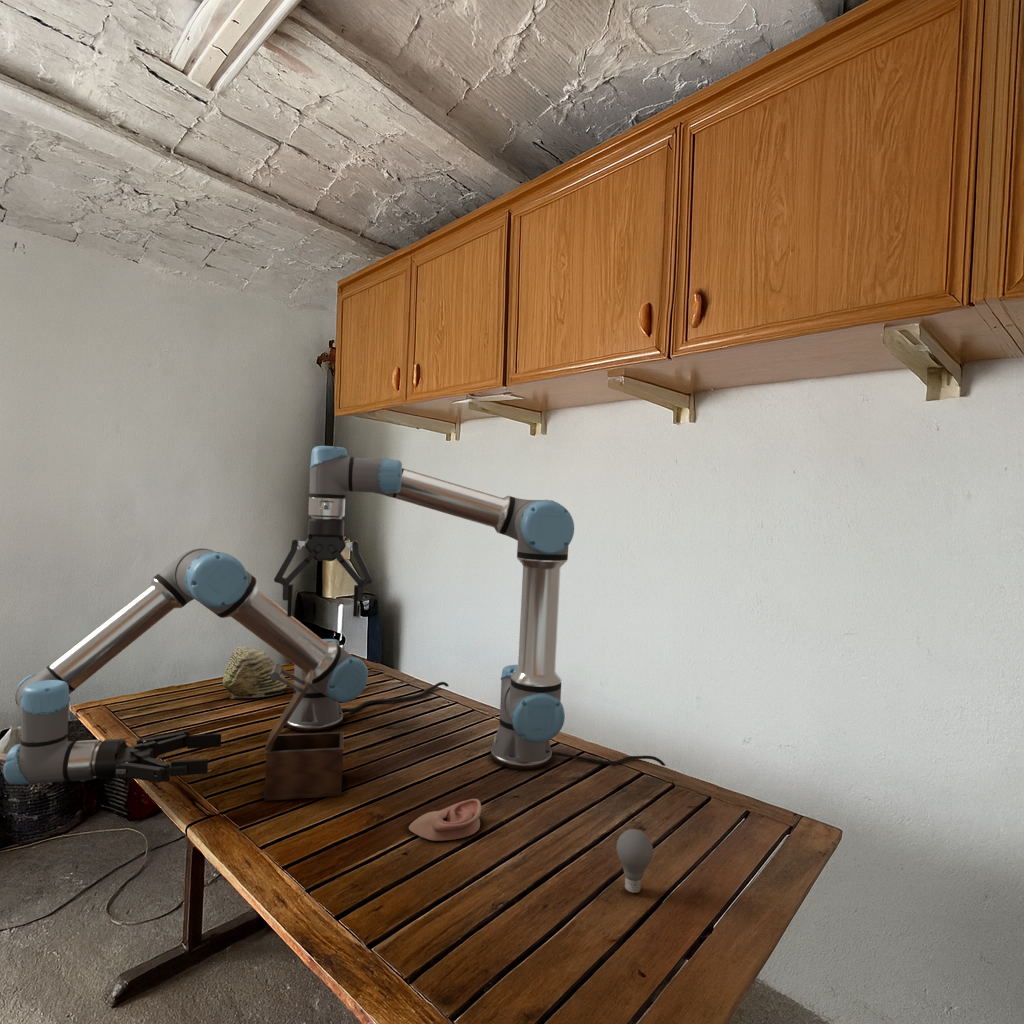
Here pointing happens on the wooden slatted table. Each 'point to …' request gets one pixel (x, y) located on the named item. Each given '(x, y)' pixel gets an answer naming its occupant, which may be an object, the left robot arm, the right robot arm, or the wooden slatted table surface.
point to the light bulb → (634, 857)
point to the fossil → (251, 674)
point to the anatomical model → (449, 822)
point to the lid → (293, 703)
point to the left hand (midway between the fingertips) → (214, 752)
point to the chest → (304, 766)
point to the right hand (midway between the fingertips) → (322, 615)
